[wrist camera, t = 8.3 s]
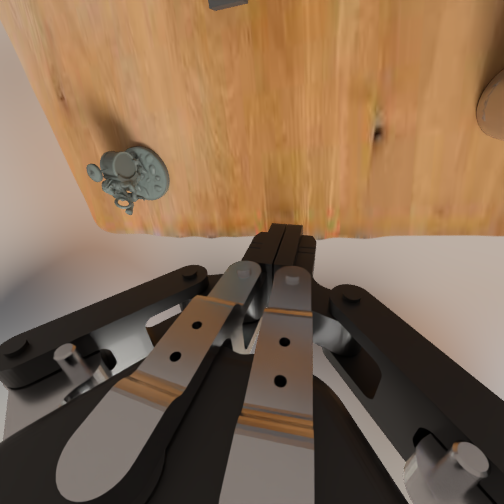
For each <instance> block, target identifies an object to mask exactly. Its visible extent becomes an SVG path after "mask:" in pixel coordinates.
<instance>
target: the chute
mask: <svg viewBox="0 0 504 504" xmlns="http://www.w3.org/2000/svg"><path fill="white" fill-rule="evenodd" d="M208 2H209V8H210V9H212V10H215V11H217V10H221V9H225V8H230V7H234V6H238V5H243V4H247V3H248V0H208Z"/></svg>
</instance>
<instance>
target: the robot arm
mask: <svg viewBox="0 0 504 504" xmlns="http://www.w3.org/2000/svg"><path fill="white" fill-rule="evenodd" d="M477 121H478V125H479V126H480V128H481V130H482V131H483V132H485V133H486V134H487V135H489V136H491V137H493V138H496V139H500V140H503V141H504V69H503V70H502V71H501V72H499V73H498V74H497V75H496V76H495V77H494V78H493V79H492V81H491V82H490V83H489V84H488V86H487V87H486V89H485V90H484V91H483V93H482V96H481V98H480V100H479V103H478V107H477ZM315 251H316V240H315V239H314V237H313V236H307V235H303V225H291V224H288V225H287V224H276V223H272V225H271V227H270V229H269V231H268V232H260V233H259V234H257V235H256V236H255V237H254V238H253V240H252V242H251V244H250V246H249V248H248V250H247V251H246V253H245V255H244V257H243V258H242V260H241V261H239V262H236V263H234V264H232V265H230V266H229V267H228V269H227V270H226V272H225V273H224V274H219V275H208V274H207V270H206V269H205V268H204V267H202V266H199V265H189V266H185V267H182V268H180V269H178V270H175V271H173V272H170V273H168V274H165V275H163V276H160V277H158V278H156V279H153V280H151V281H149V282H146V283H143V284H141V285H138V286H136V287H134V288H131V289H129V290H126V291H124V292H121V293H119V294H117V295H114V296H112V297H109V298H107V299H104V300H102V301H99V302H97V303H94V304H92V305H90V306H87V307H85V308H82V309H80V310H78V311H75V312H72V313H70V314H68V315H65V316H63V317H61V318H58V319H55V320H53V321H51V322H48V323H46V324H43V325H41V326H38V327H36V328H34V329H31V330H29V331H26V332H24V333H21V334H19V335H17V336H14V337H12V338H11V339H9V340H7V341H6V342H4V343H3V344H1V345H0V381H1V382H2V383H3V385H4V387H5V388H6V389H7V390H8V391H9V394H8V402H7V411H6V420H5V429H4V437H3V441H2V442H1V443H0V504H409V503H408V502H407V500H406V499H405V497H404V496H403V494H402V493H401V491H400V490H399V488H398V487H397V485H396V484H395V482H394V481H393V479H392V478H391V476H390V474H389V473H388V472H387V470H386V468H385V467H384V465H383V464H382V462H381V461H380V459H379V458H378V456H377V455H376V453H375V452H374V450H373V449H372V447H371V445H370V444H369V442H368V441H367V439H366V438H365V436H364V435H363V433H362V432H361V430H360V429H359V427H358V426H357V424H356V423H355V421H354V420H353V418H352V416H351V415H350V413H349V412H348V410H347V409H346V408H345V406H344V404H343V403H342V401H341V400H340V398H339V397H338V396H337V395H336V394H335V392H334V391H333V390H332V389H331V388H330V387H329V386H327V384H325V383H324V382H323V381H321V380H320V379H319V378H318V377H316V376H314V375H313V343H315V344H317V345H319V346H321V347H322V349H323V353H324V355H325V356H326V358H327V359H328V360H329V362H330V363H331V364H332V366H333V367H334V368H335V369H336V371H337V372H338V373H339V375H340V376H341V377H342V379H343V380H344V381H345V383H346V384H347V385H348V387H349V388H350V389H351V391H352V392H353V393H354V395H355V396H356V397H357V398H358V400H359V401H360V402H361V404H362V405H363V406H364V408H365V409H366V410H367V412H368V413H369V414H370V416H371V417H372V418H373V420H374V421H375V422H376V424H377V425H378V426H379V427H380V429H381V430H382V431H383V433H384V434H385V435H386V437H387V438H388V439H389V441H390V442H391V443H392V444H393V446H394V447H395V449H396V450H397V451H398V452H399V454H400V455H401V456H402V458H403V459H404V460H405V461H406V463H405V466H404V471H403V476H404V483H405V486H406V490H407V492H408V494H409V497H410V499H411V500H412V502H413V504H504V401H503V400H502V399H500V398H499V397H498V396H497V395H495V394H494V393H493V392H491V391H490V390H489V389H488V388H487V387H485V386H484V385H483V384H482V383H480V382H479V381H478V380H477V379H475V378H474V377H473V376H472V375H470V374H469V373H468V372H467V371H466V370H464V369H463V368H462V367H461V366H459V365H458V364H457V363H456V362H454V361H453V360H452V359H451V358H449V357H448V356H447V355H445V353H443V352H442V351H441V350H439V349H438V348H437V347H436V346H435V345H433V344H432V343H431V342H430V341H428V340H427V339H426V338H425V337H423V336H422V335H421V334H419V333H418V332H417V331H416V330H415V329H413V328H412V327H411V326H410V325H408V324H407V323H406V322H405V321H403V320H402V319H401V318H400V317H398V316H397V315H396V314H395V313H394V312H392V311H391V310H390V309H389V308H387V307H386V306H385V305H384V304H382V303H381V302H380V301H379V300H377V299H376V298H375V297H373V296H372V295H371V294H370V293H369V292H367V291H366V290H365V289H363V288H361V287H358V286H355V285H349V284H343V285H338V286H336V287H334V288H333V289H332V290H330V289H327V288H325V287H323V286H321V285H319V284H318V283H317V282H316V281H315V280H314V278H313V271H314V261H315ZM177 304H180V308H181V311H182V312H181V313H179V314H177V315H175V316H173V317H171V318H169V319H167V320H165V321H163V322H161V323H159V324H157V325H155V326H153V327H145V325H146V322H147V321H148V320H149V318H151V317H153V316H155V315H157V314H159V313H161V312H163V311H165V310H167V309H169V308H171V307H173V306H175V305H177ZM266 307H268V308H266ZM259 330H260V331H259ZM258 333H259V336H258V340H257V345H256V349H255V354H250V352H251V349H252V347H253V344H254V342H255V340H256V337H257V335H258Z"/></svg>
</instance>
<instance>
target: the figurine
mask: <svg viewBox="0 0 504 504" xmlns="http://www.w3.org/2000/svg"><path fill="white" fill-rule="evenodd" d="M100 168H101V170H100V169H99V168H98V166H96V165H95V164H88V165H87V173H88V175H89V176H90V178H91V179H92V180H94V181H95V182H100V181H102V179H103V177H104V178H105V179H106V180H105V181H103V182H102V189H103V191H104V192H106V193H108V194H110V195H112V196H113V197H114V198H116V199H115V204H116V206H117V207H119V208H122V209H126V211H125V212H126V213H127V214H129V215H132V213H133V206H134V204H133V202H136V201H137V200H138V199H143V200H145V199H146V200H156V199H159V198H160V197H162V196H163V195H165V193H166V192H167V190H168V188H169V174H168V170H167V168H166V166H165V164H164V162H163V161H162V159H161V158H160V157H159V156H158V155H157V154H156V153H155V152H153V151H152V150H150V149H148V148H145V147H142V146H135V147H132V148H129V149H127V150H126V151H125V152H114V151H108V152H106V153H104V154H103V155H102V157H101V160H100ZM102 173H103V175H104V176H103V175H102ZM126 190H127V191H130V192H132V193H127V191H126ZM118 200H121V201H124V200H126V201H128V202H129V205H128V206H121V205H119V204H118Z"/></svg>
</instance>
